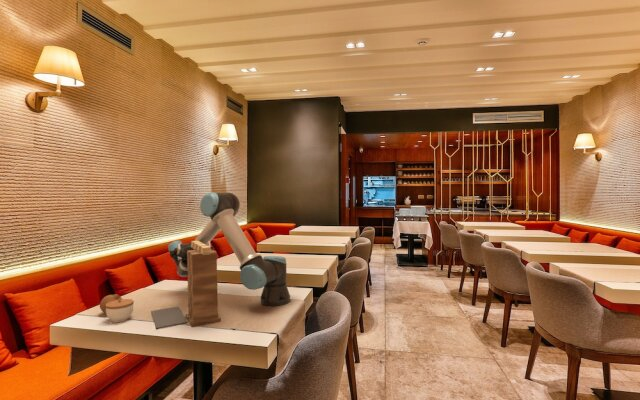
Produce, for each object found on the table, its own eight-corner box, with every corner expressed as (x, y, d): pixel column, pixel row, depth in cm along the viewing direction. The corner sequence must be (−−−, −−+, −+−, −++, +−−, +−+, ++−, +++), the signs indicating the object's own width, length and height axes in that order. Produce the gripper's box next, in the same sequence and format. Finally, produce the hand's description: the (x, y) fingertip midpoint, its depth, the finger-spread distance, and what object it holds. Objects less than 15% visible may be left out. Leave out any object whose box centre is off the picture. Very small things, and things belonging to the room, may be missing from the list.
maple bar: (191, 247, 160) (190, 240, 160) (197, 246, 161) (197, 240, 161) (203, 255, 138) (203, 247, 138) (210, 254, 139) (210, 247, 139)
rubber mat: (151, 312, 157) (151, 311, 157) (178, 307, 163) (178, 306, 163) (156, 329, 137) (156, 327, 137) (187, 323, 143) (187, 321, 143)
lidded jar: (121, 325, 142) (120, 303, 142) (99, 323, 144) (99, 302, 144) (139, 316, 152) (139, 295, 152) (119, 314, 154) (118, 294, 154)
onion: (121, 318, 158) (131, 299, 158) (102, 319, 150) (112, 299, 150) (111, 308, 162) (121, 289, 163) (91, 309, 154) (102, 289, 155)
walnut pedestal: (185, 316, 150) (184, 250, 150) (212, 311, 157) (211, 248, 156) (191, 327, 138) (190, 255, 138) (220, 321, 145) (219, 252, 144)
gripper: (213, 265, 178) (222, 249, 163) (162, 271, 165) (166, 255, 150) (211, 252, 181) (220, 235, 166) (161, 257, 168) (165, 240, 153)
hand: (194, 245), depth 158 cm, fingers open, 13 cm apart
